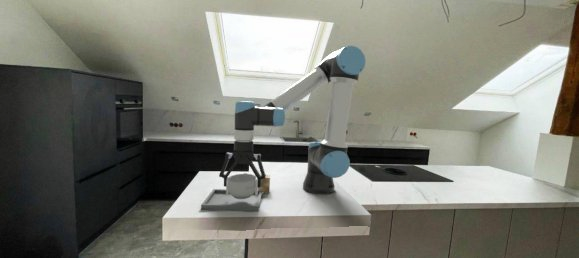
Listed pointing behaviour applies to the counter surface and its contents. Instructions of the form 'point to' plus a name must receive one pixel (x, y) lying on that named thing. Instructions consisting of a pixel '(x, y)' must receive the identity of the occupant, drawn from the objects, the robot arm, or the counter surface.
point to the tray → (230, 202)
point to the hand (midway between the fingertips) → (242, 194)
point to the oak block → (265, 184)
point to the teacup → (242, 185)
